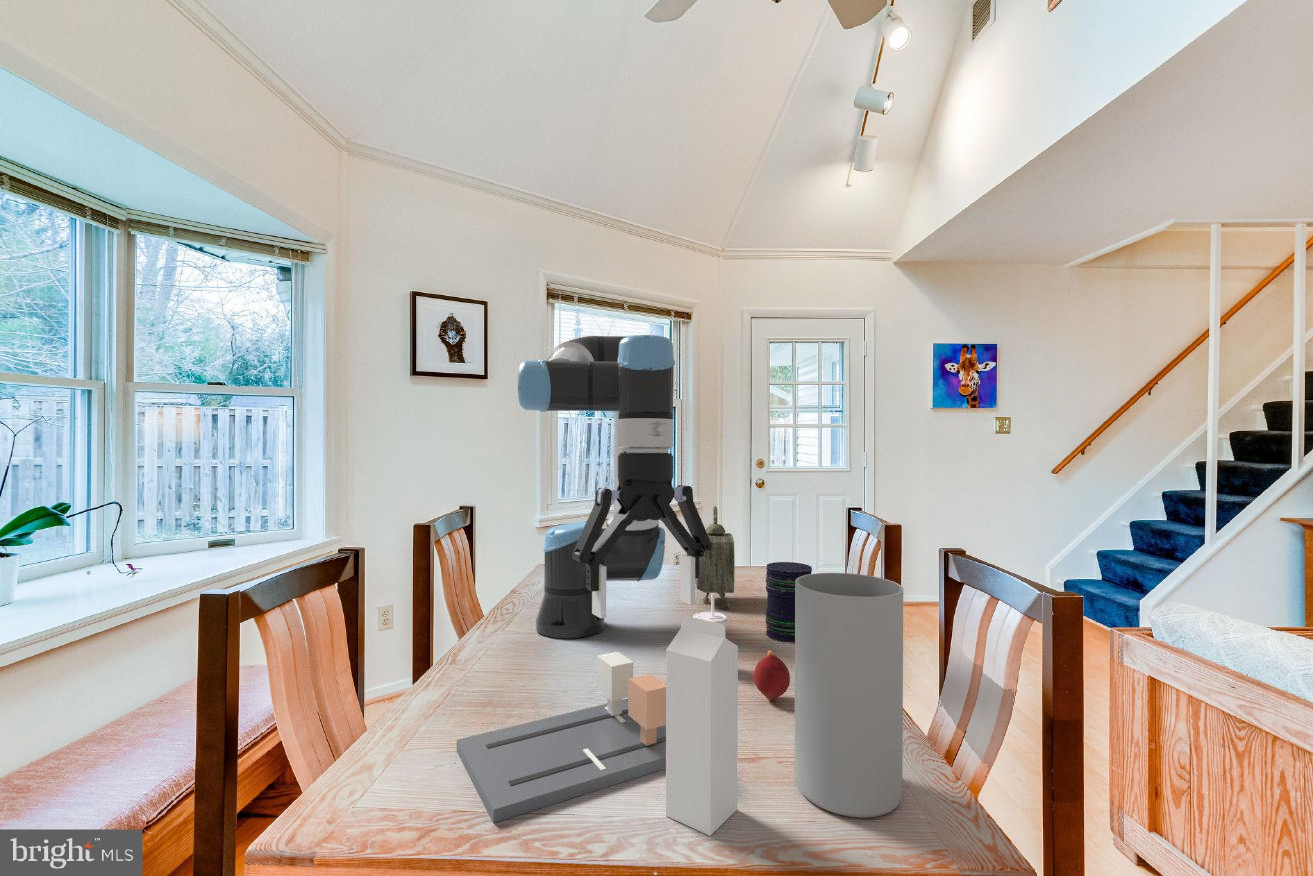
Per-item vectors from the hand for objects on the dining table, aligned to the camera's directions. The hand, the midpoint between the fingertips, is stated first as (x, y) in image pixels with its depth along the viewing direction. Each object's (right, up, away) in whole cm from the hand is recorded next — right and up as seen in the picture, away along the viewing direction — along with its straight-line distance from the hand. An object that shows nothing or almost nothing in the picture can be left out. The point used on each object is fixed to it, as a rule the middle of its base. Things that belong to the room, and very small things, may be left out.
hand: (645, 609), depth 82 cm
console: (-9, -20, 0) cm, 21 cm away
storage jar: (+30, -20, +50) cm, 61 cm away
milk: (+7, -20, -13) cm, 25 cm away
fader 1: (-5, -18, +8) cm, 20 cm away
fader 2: (0, -18, 0) cm, 18 cm away
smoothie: (+11, -20, +31) cm, 38 cm away
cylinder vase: (+25, -20, -8) cm, 33 cm away
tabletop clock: (+16, -20, +75) cm, 80 cm away
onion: (+20, -20, +17) cm, 33 cm away
